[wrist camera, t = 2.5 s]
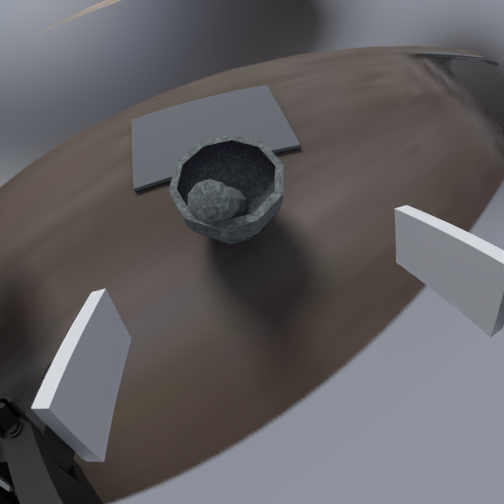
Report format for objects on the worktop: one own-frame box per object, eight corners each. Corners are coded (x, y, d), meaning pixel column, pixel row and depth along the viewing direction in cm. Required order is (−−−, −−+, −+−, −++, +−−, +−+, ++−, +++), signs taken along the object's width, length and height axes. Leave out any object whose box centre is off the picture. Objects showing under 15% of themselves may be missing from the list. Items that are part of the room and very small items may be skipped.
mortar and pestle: (197, 176, 32) (171, 95, 21) (280, 179, 32) (286, 92, 20) (179, 272, 28) (130, 211, 17) (277, 278, 27) (286, 215, 16)
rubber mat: (135, 191, 32) (133, 188, 31) (133, 122, 37) (131, 119, 36) (299, 148, 33) (300, 144, 33) (266, 88, 38) (266, 85, 37)
